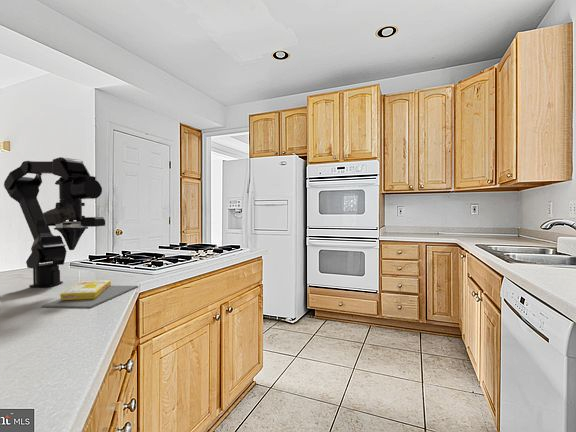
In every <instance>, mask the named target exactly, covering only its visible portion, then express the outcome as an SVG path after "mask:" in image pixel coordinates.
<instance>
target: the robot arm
mask: <svg viewBox="0 0 576 432" xmlns="http://www.w3.org/2000/svg"><path fill="white" fill-rule="evenodd" d="M27 174H34V175H35V176H34V177H30V176H28V177H27V176H26V175H27ZM44 174H49V175H50V174H51V175H54V176H58V177H59V179H58V180H56V181H55V182H54V184H55V185H56V186H58V190H59V191H58V192H59V194H58V197H59V198H58V199H59V202H56V203H55V206H54V208H52V209H49V210H47V211H44V212H43V210H42V208H41V205H40V202H39V201H38V195H39V193H40V187H41V185H42V184H43V180H42V175H44ZM3 187H4V189H5V191H6V192H7V194H8V196H9V197H10V198H11V199H12V200H14V201H16V202H17V203H18V204H19V206H20V209H21V212H22V213H23V216H24V218H25V221H26V224H27V226H28V228H29V231H30V233H31V236H32V238H33V242H32V245H31V248H30V251H31V253H30V255H29V256H28V258H27V260H26V261H25V264H26V268H27V269H32V274H33V275H32V277H33V280H32V281H33V284H30V285H29V287H30V288H49V287H52V286H56V285H59V284H60V285H61V284H63V283H64V282H63V280H61V270H60V267H59V266H61V265H64V264H65V261H66V256H67V249H68V250H69V251H74V250H75V249H76V246H77V245H78V242H79V241H80V239H81V238H82V237H81V236H82V235H83V234H84V232H85V230H87V229H89V228H90V227H93V228H94V227H104V226H105V227H106V219H105V218H104V216H85V215H83V207H85V205H86V203H85V202H83V200H86V199H87V200H89V199H90V200H91V199H93V200H94V199H98V198H99V197H100V196H101V195H102V193H103V187H102V186H101V182H99V181H98V180H97V179H96V176H95V175H91V174H90V173H89V170H88V168H87V167H86V165H85V164H84V161H83V160H81V159H76V158H69V157H57V158H53V159H52V160H51V161H34V160H33V161H32V160H25V161H23V162H22V163H21V164H20V166H19V167H17V168H15V169H14V170H12V171H10V172H9V173H8V175H7V177H6V178H5V180H4V182H3ZM50 227H53V230H55V231H58V232H59V233H60V234H61V235H62V236H61V235H54V234H53V233H52V231H51V229H50ZM62 237H63V238H62ZM63 239H64V240H63ZM65 243H66V244H65ZM66 246H67V248H66Z"/></svg>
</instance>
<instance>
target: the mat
mask: <svg viewBox="0 0 576 432" xmlns="http://www.w3.org/2000/svg"><path fill="white" fill-rule="evenodd" d="M137 288H139V285H112V284H111V285H110V286H109V287H108V288H107V289H106V290H104V291H103V292H102V293H101V294H100V295H99V296H97V297H96V298H95V299H82V300H61V298H59V299H56V300H53V301H50V302H48V303H45V304H41V306H40V307H41V308H55V309H56V308H62V309H63V308H64V309H65V308H67V309H70V308H71V309H92V308H94V307H96V306H98V305H101V304H103V303H105V302H107V301H110V300H113V299H115V298H117V297H119V296H121V295H124V294H125V293H128V292H130V291H133V290H135V289H137Z"/></svg>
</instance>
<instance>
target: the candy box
mask: <svg viewBox="0 0 576 432" xmlns="http://www.w3.org/2000/svg"><path fill="white" fill-rule="evenodd" d="M110 285H111V286H112V280H110V279H108V280H107V279H106V280H105V279H104V280H86V281H85V280H82V281H80V282H79V283H77V284H75V285H73V286H72V287H69V288H68V289H67V290H65V291H63V292H61V293H60V294H59V295H60V299H61V300H82V299H95V298H96V297H97V296H99V295H100V294H101V293H102V292H103V291H104V290H106V289H107V288H108V287H109V286H110Z"/></svg>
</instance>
